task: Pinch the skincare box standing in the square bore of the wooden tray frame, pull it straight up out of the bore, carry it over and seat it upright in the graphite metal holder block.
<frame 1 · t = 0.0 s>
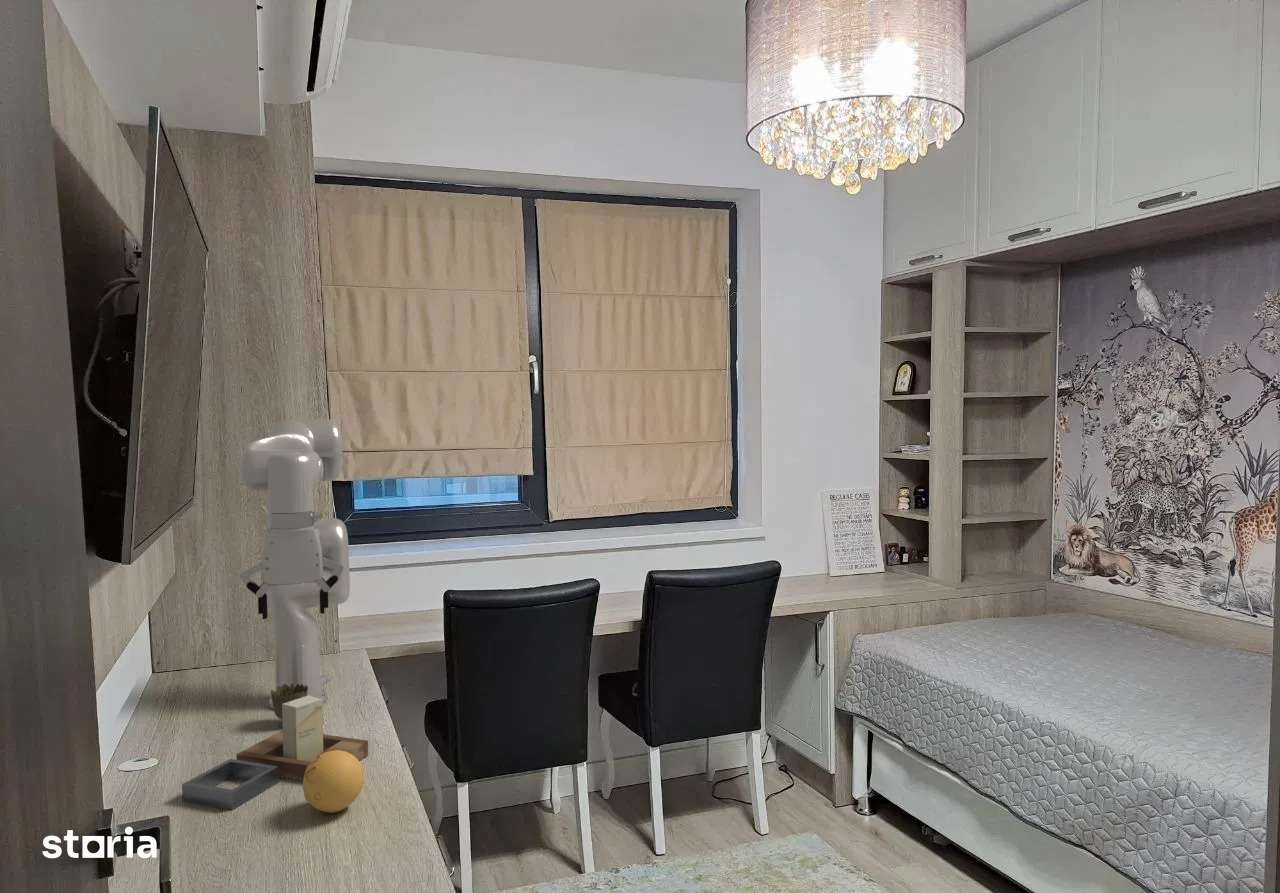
hand: (294, 614, 153), 31 cm above the table, tool pointing down, fingers open, 9 cm apart
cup: (290, 725, 182), on the table
stress ball: (334, 810, 144), on the table
skincare box: (303, 763, 163), resting in wooden tray frame
metal holder: (231, 791, 151), on the table
wooden tray frame: (303, 762, 163), on the table
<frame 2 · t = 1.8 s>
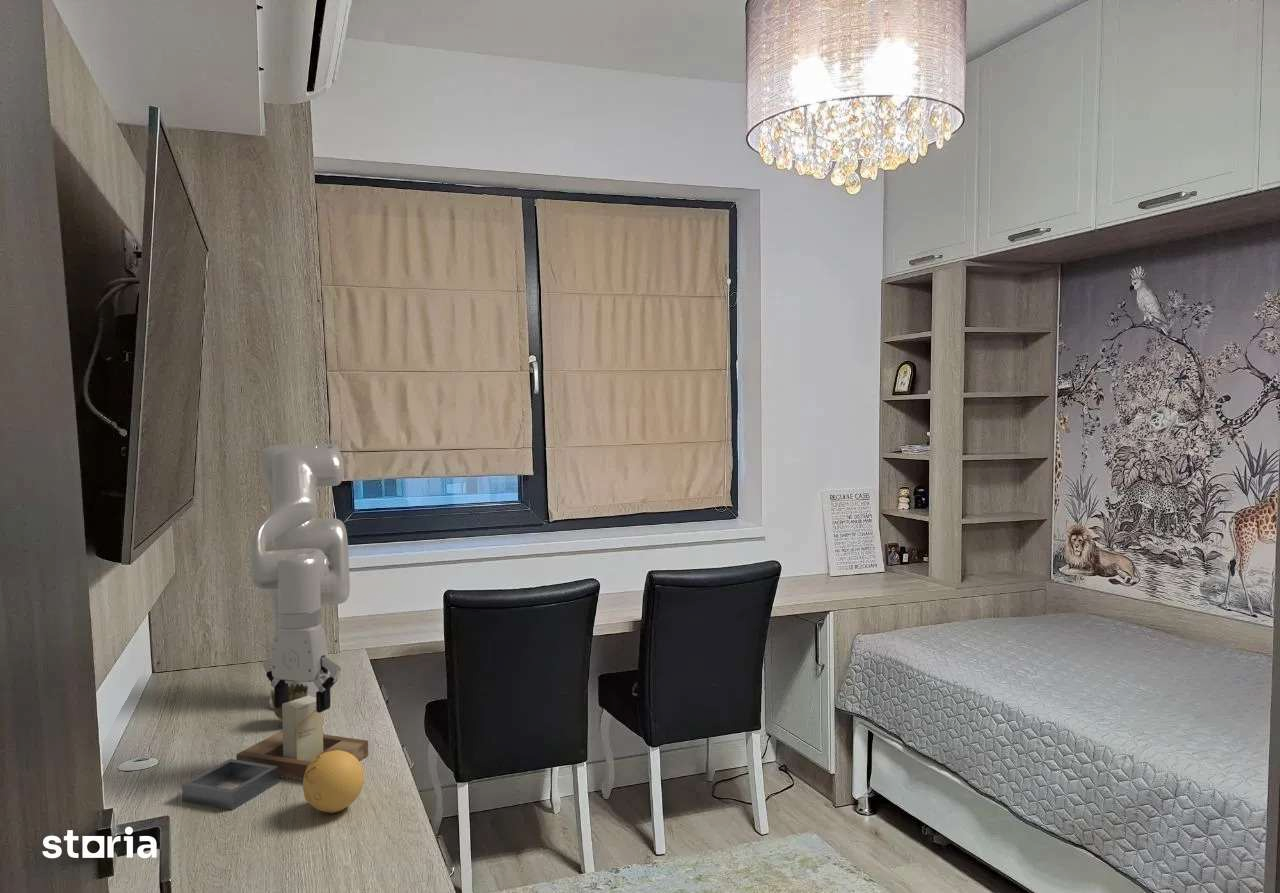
hand: (302, 707, 162), 11 cm above the table, tool pointing down, fingers open, 9 cm apart
nothing on the table moved.
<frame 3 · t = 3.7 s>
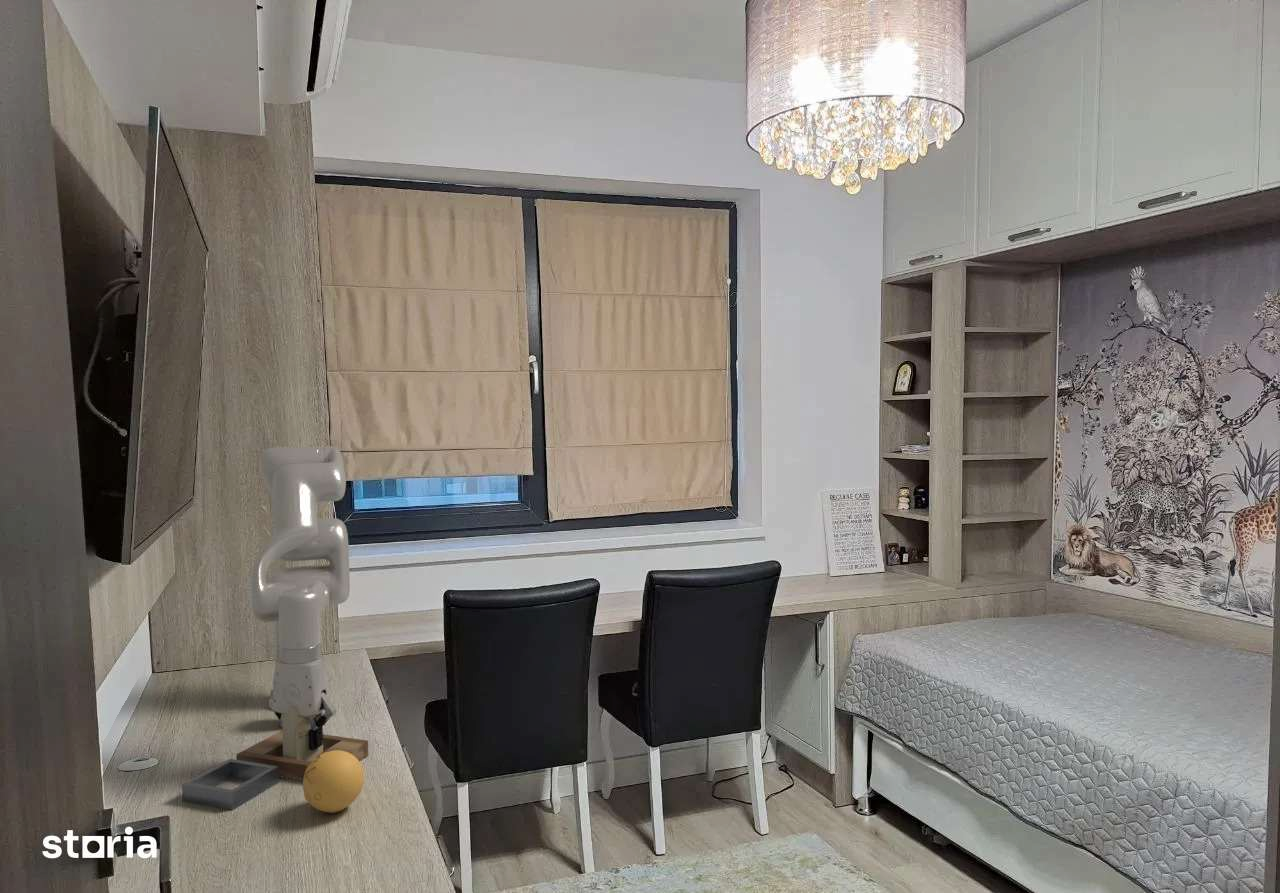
hand: (303, 744, 163), 3 cm above the table, tool pointing down, fingers closed on skincare box, 5 cm apart
skincare box: (303, 763, 163), resting in wooden tray frame, touching gripper
everything else where it was.
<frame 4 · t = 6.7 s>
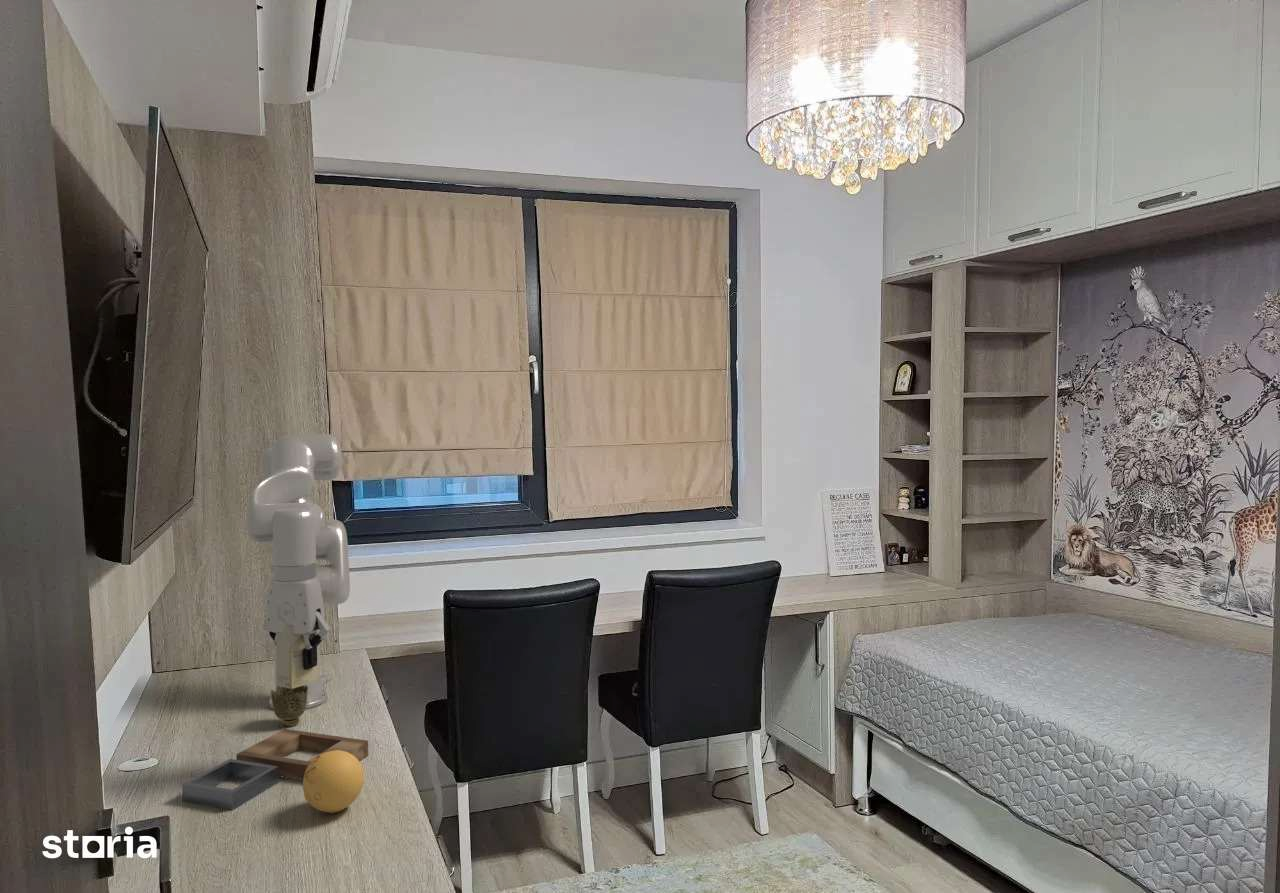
hand: (297, 665, 162), 19 cm above the table, tool pointing down, fingers closed on skincare box, 5 cm apart
skincare box: (298, 684, 162), point 16 cm above the table, touching gripper
everything else where it was.
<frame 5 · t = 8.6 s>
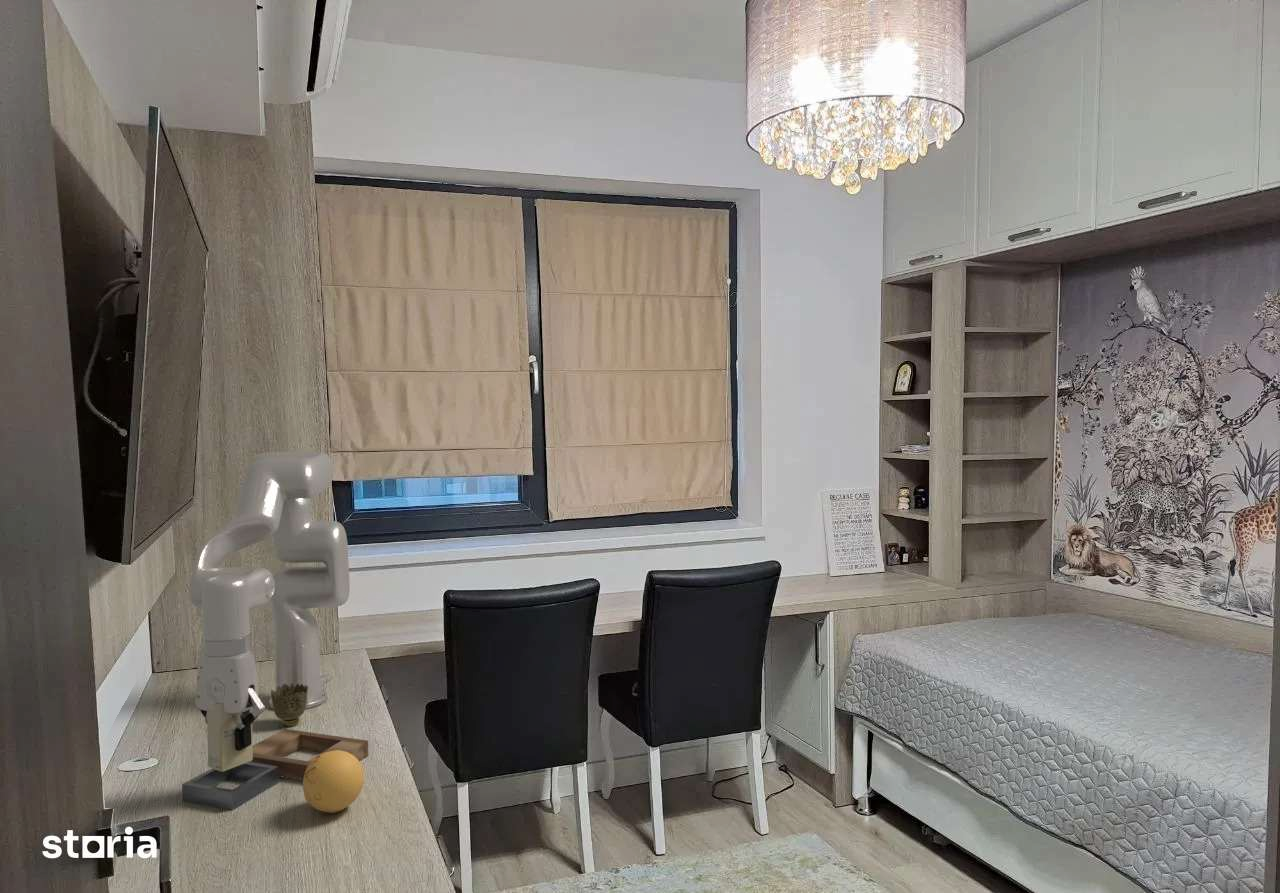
hand: (230, 744, 151), 9 cm above the table, tool pointing down, fingers closed on skincare box, 5 cm apart
skincare box: (230, 764, 151), point 5 cm above the table, touching gripper
everything else where it was.
when the fingers open (5 cm above the table, at t = 10.2 s): skincare box drops 1 cm, resting in metal holder.
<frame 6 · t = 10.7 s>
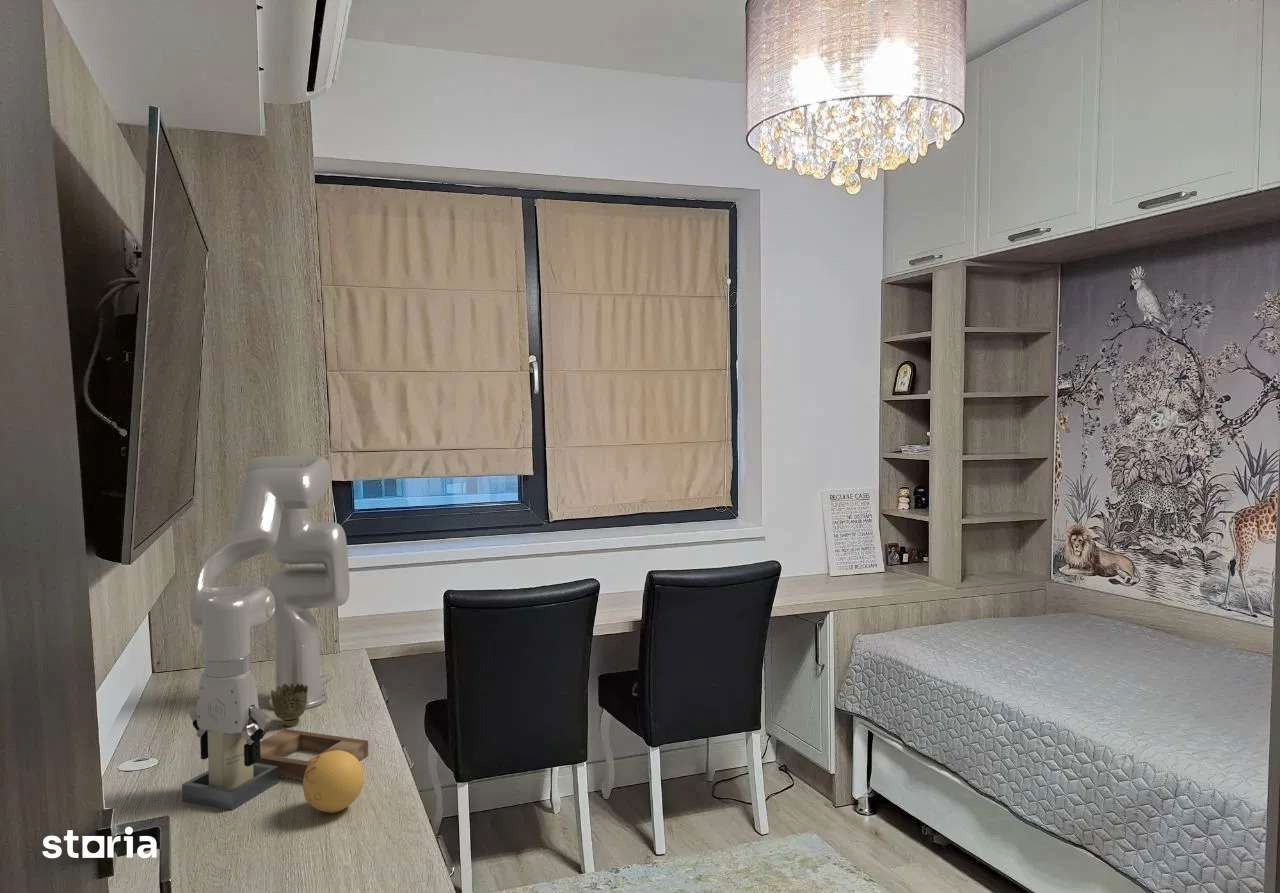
hand: (230, 759, 151), 6 cm above the table, tool pointing down, fingers open, 9 cm apart
skincare box: (231, 791, 151), resting in metal holder
everything else where it was.
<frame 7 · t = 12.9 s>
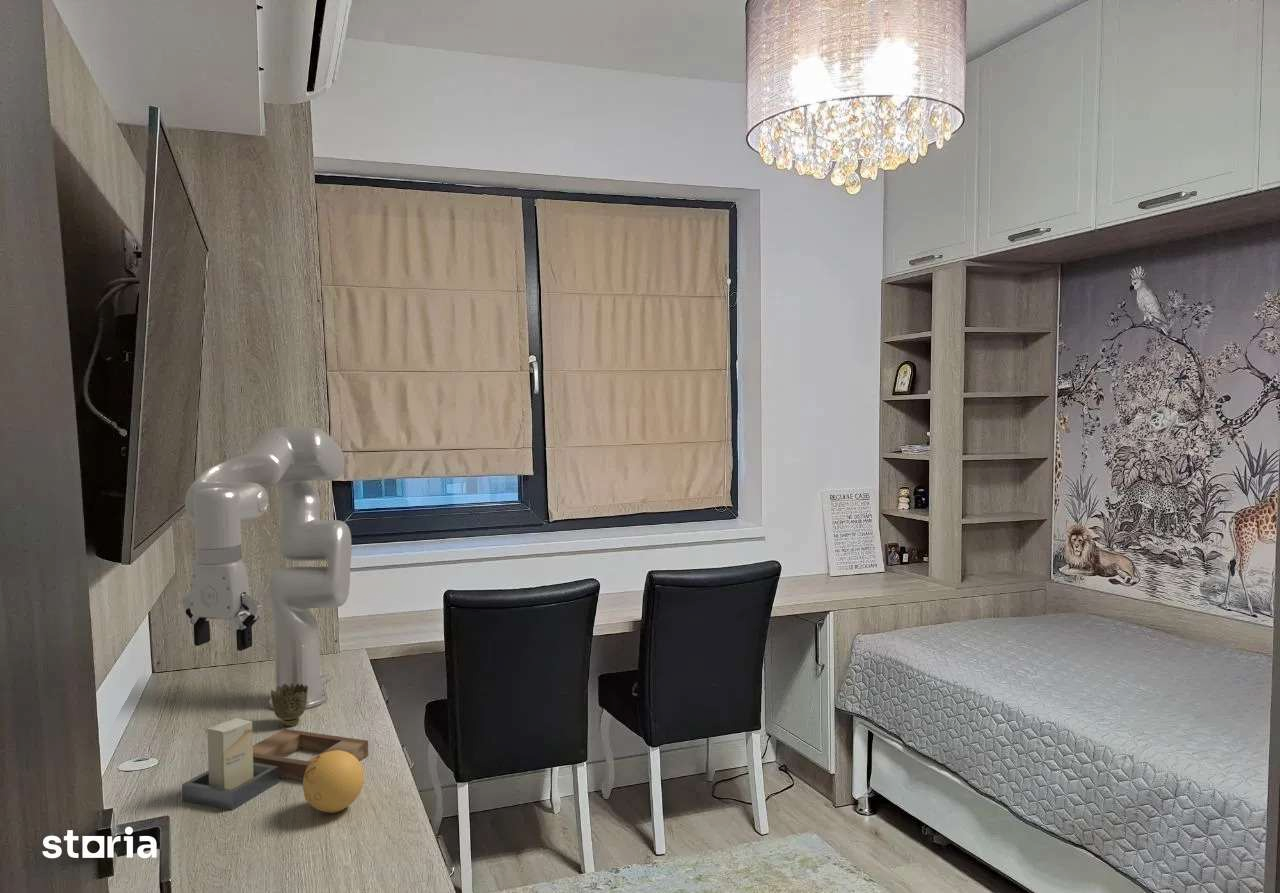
hand: (223, 646, 156), 25 cm above the table, tool pointing down, fingers open, 9 cm apart
nothing on the table moved.
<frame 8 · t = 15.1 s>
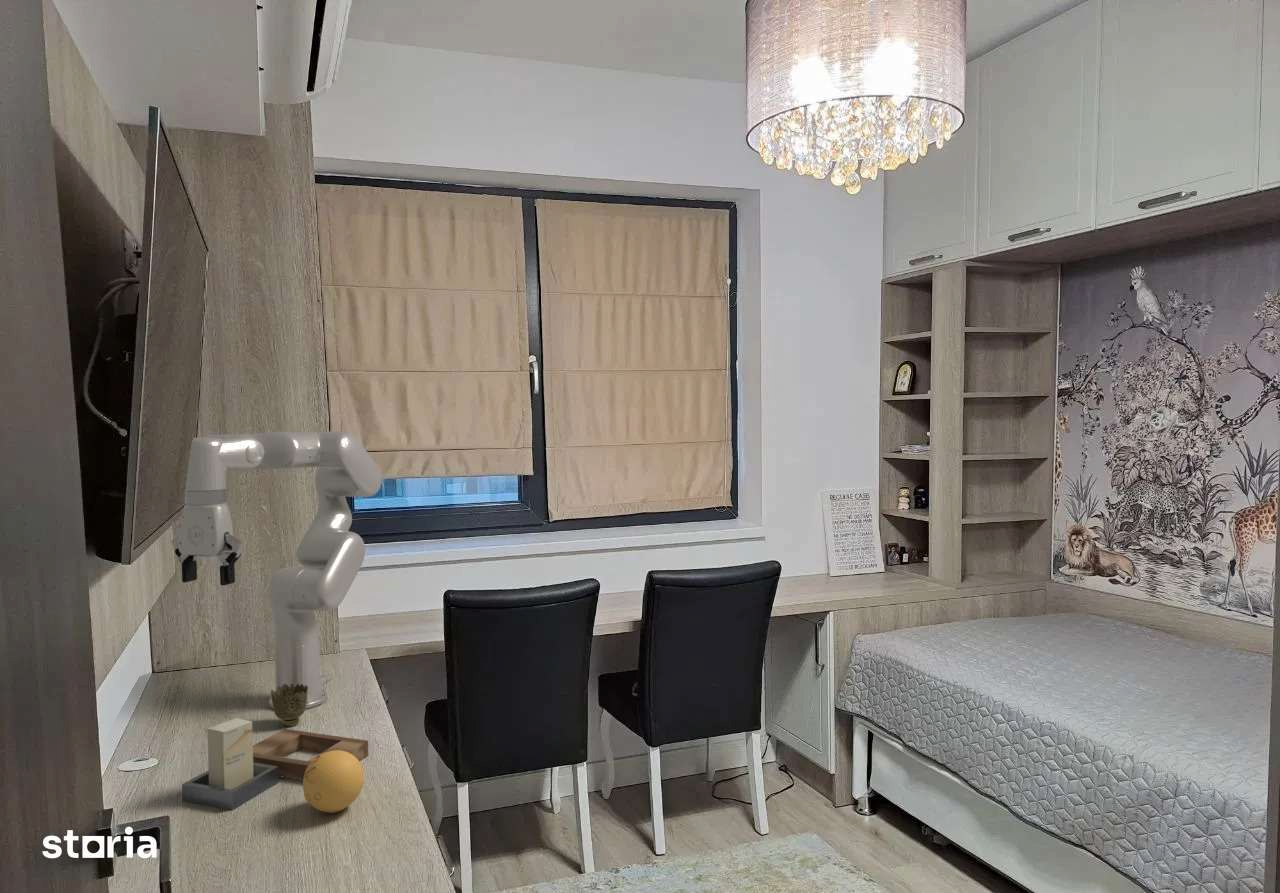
hand: (208, 582, 171), 33 cm above the table, tool pointing down, fingers open, 9 cm apart
nothing on the table moved.
at the end: skincare box 0.4 cm off-centre on the metal holder, point 0.0 cm above the metal holder's base; skincare box tilted 0°; the gripper is holding nothing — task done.
